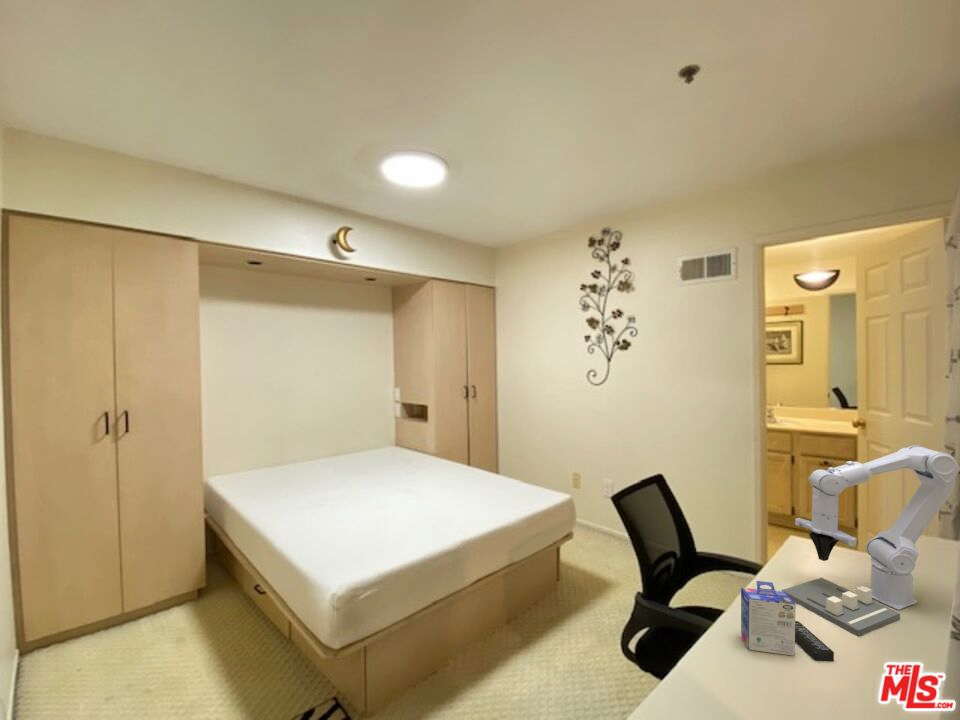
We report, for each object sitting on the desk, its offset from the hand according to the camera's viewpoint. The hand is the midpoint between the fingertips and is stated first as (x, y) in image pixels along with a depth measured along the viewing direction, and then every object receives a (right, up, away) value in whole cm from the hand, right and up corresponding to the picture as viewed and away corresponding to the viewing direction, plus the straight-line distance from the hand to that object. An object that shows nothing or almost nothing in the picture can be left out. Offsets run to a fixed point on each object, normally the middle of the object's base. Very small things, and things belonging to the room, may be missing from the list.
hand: (823, 559), depth 120 cm
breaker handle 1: (-7, -8, -12) cm, 16 cm away
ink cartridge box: (-31, -10, -21) cm, 39 cm away
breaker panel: (-2, -10, -7) cm, 12 cm away
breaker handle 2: (+5, -8, -7) cm, 12 cm away
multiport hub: (-21, -11, -21) cm, 32 cm away
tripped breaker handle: (-1, -8, -9) cm, 12 cm away
